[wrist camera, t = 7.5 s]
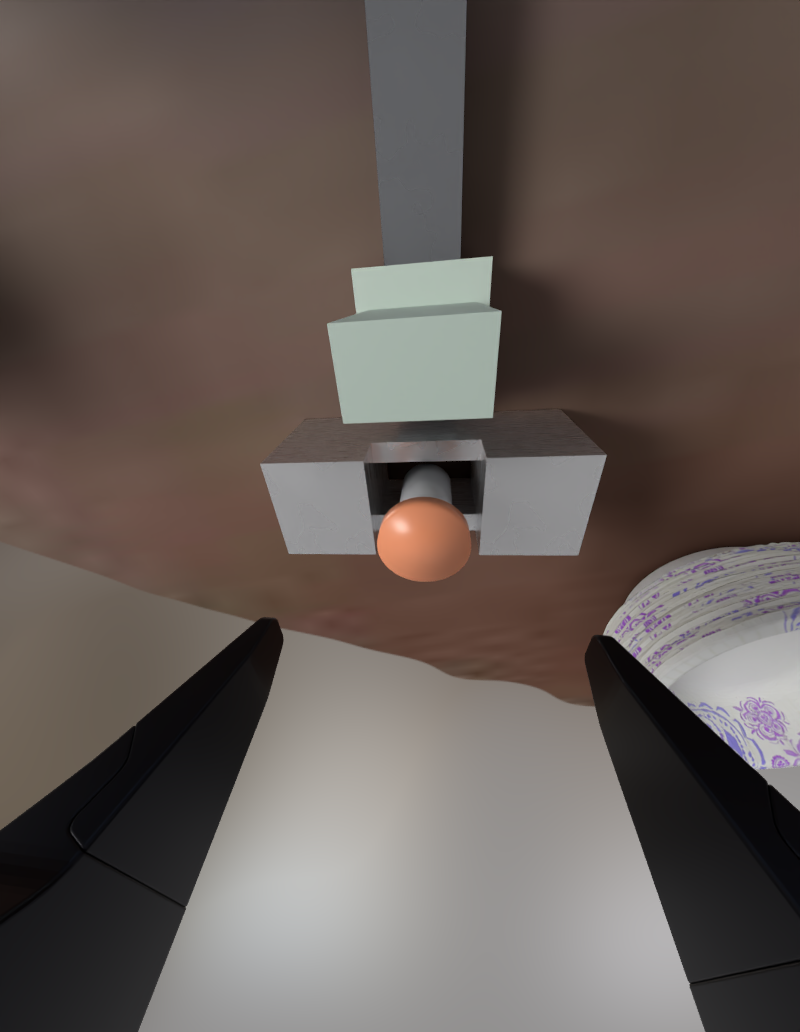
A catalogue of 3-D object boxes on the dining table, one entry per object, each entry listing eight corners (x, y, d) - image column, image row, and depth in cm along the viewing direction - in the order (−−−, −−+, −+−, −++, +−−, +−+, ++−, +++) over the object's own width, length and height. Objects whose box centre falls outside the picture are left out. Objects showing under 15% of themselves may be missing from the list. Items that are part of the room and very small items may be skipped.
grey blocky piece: (304, 419, 20) (260, 463, 15) (560, 408, 18) (606, 455, 13) (321, 494, 22) (289, 553, 17) (544, 491, 21) (577, 555, 16)
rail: (367, -60, 11) (355, -124, 9) (465, -79, 10) (470, -150, 9) (399, 406, 19) (395, 417, 17) (454, 403, 18) (456, 415, 17)
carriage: (366, 272, 15) (293, 256, 7) (481, 262, 15) (533, 233, 7) (378, 389, 18) (333, 467, 10) (475, 384, 17) (506, 463, 10)
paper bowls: (877, 483, 19) (1115, 588, 12) (796, 650, 27) (914, 770, 20) (580, 534, 22) (640, 637, 16) (585, 668, 30) (626, 775, 24)
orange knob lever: (388, 452, 16) (372, 508, 12) (464, 450, 16) (473, 507, 12) (394, 515, 18) (381, 581, 14) (461, 514, 18) (469, 582, 14)
